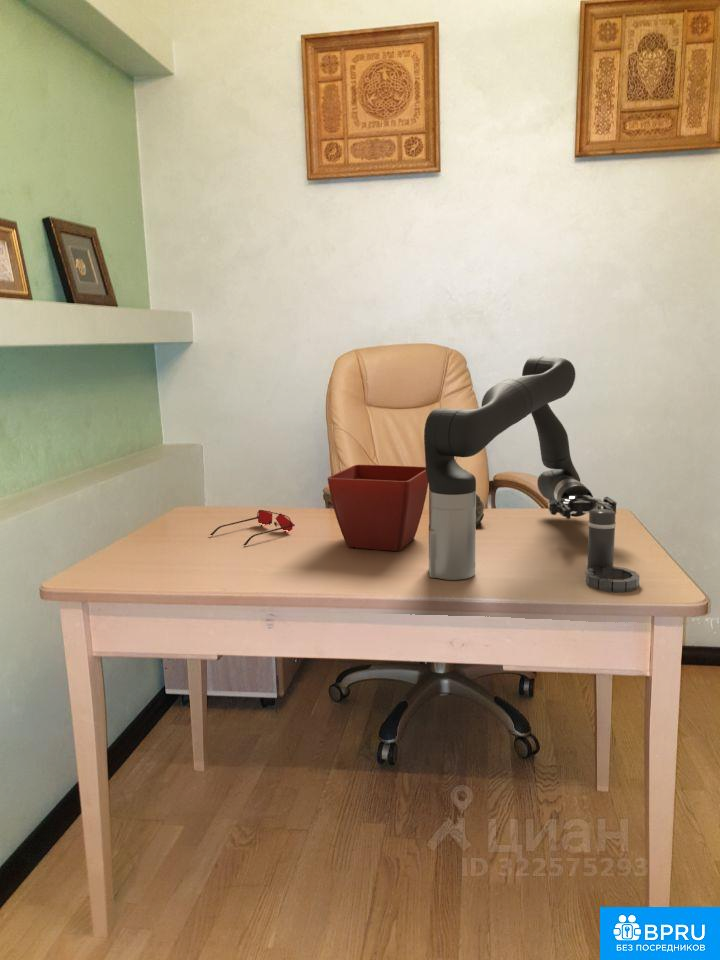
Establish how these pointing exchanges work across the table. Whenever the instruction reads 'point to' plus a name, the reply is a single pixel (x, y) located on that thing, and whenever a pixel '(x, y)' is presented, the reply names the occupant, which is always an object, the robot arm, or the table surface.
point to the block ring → (598, 581)
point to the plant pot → (379, 504)
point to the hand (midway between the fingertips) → (589, 513)
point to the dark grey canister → (601, 538)
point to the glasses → (267, 522)
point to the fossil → (479, 510)
